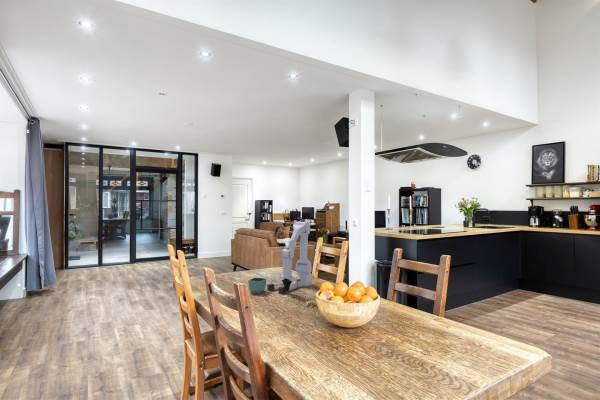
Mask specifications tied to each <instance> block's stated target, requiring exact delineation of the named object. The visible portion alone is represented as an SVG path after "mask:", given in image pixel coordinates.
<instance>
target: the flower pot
mask: <svg viewBox="0 0 600 400" xmlns="http://www.w3.org/2000/svg"><path fill="white" fill-rule="evenodd" d="M248 287H249V291H250V293H251V294H262V293H263V292H264V291H265V289H266V288H267V278H265V277H253V278H250V279H249V280H248Z"/></svg>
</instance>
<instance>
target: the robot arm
mask: <svg viewBox="0 0 600 400" xmlns="http://www.w3.org/2000/svg"><path fill="white" fill-rule="evenodd" d="M292 229H293V232H292V235H291V238H290V239H288V241H287V243H286V245H285V247H284V249H282V250H281V252H280V257H281V262H282V273H281V274H280V273H279V278H282V279H281V282H283V284H284V287H285V291H286V292H285V293H288V292H290V291H289V288H290V285H291V283H292V282H294V281H295V280H296V278H295V277H294V276H293V258H294V255H295V249H296V247H297V240H298V238H299V237H300V243H299V244H300V245H299V248H300V249H299V259H298V260H297V261H296V264H295V268H294V269H295V272H296V273H297V279H300V281H303V287H308V286H313V284H314V281H313V280H314V279H313V274H312V273H311V272H312V270H313V269H312V268H313V267H312V262H311V261H310V260H309V259H308V249H309V247H308V245H309V244H308V243H309V241H308V239H309V234H310V233H311V225H310V222H308V221H294V222H293V225H292ZM287 291H288V292H287Z"/></svg>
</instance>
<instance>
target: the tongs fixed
mask: <svg viewBox="0 0 600 400" xmlns="http://www.w3.org/2000/svg"><path fill="white" fill-rule="evenodd" d="M293 282H297V288H301V287H302V288H303V287H304V286H303V281H300V279H298V278H297V279H295V281H293ZM293 282H292V283H293ZM281 286H284V284H283V282H282V281H281V282H274V283H268V284H267V283H266V291H268V292H269V291H275V290H279V287H281Z"/></svg>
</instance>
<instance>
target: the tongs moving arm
mask: <svg viewBox="0 0 600 400" xmlns="http://www.w3.org/2000/svg"><path fill="white" fill-rule="evenodd" d="M297 288H298V287H297V282H294V281H293V283H291V285H290V288H289V291H287V292H286V291H285V287H284V286H281V287H279V289H278V294H279V295H283V294H285V293H288V292H290V291H292V290H295V289H297Z"/></svg>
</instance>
